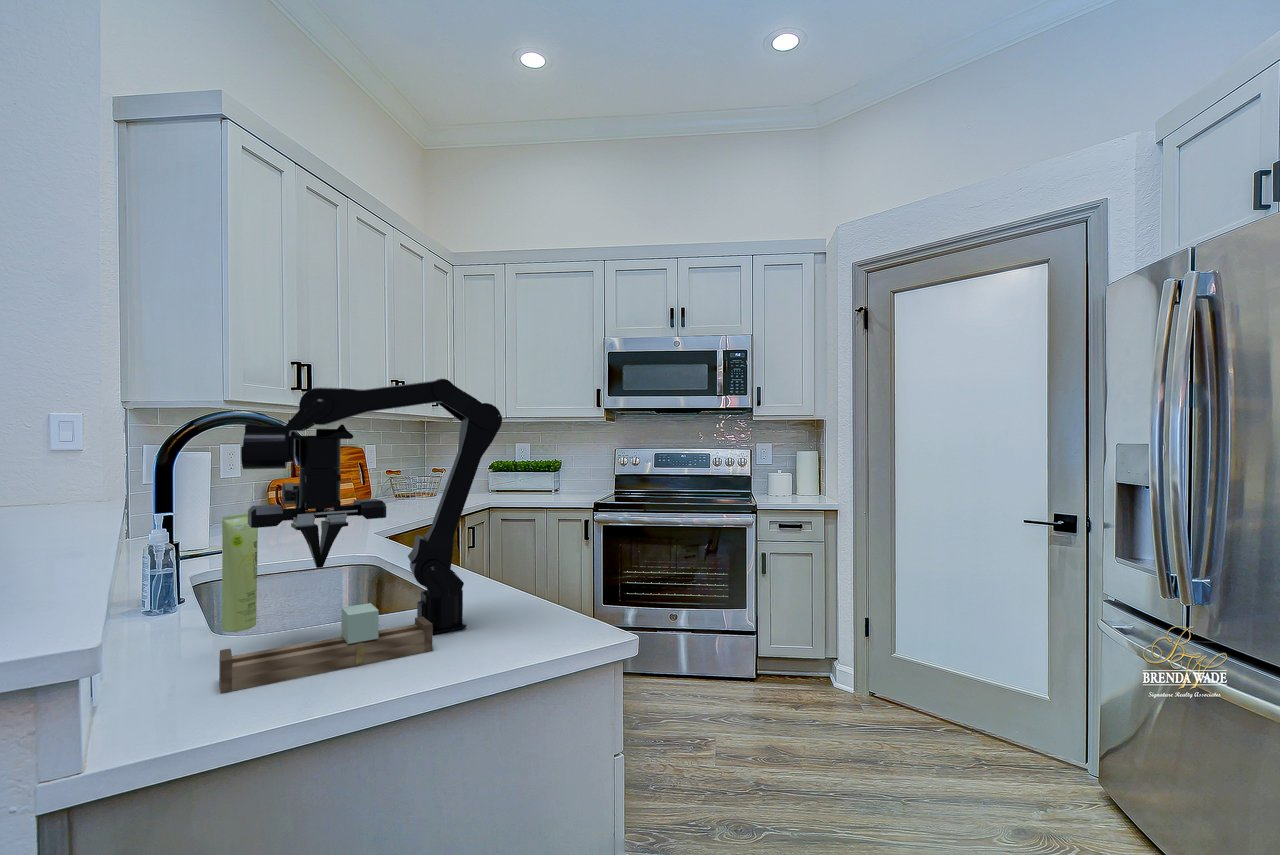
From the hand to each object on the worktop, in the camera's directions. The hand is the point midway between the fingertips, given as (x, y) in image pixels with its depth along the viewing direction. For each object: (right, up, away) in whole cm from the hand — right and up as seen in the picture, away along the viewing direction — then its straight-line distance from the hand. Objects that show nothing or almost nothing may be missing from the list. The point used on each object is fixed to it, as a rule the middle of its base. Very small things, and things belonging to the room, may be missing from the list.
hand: (319, 567), depth 95 cm
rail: (+7, -12, -9) cm, 16 cm away
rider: (+10, -10, -7) cm, 16 cm away
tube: (-18, -12, +8) cm, 23 cm away
